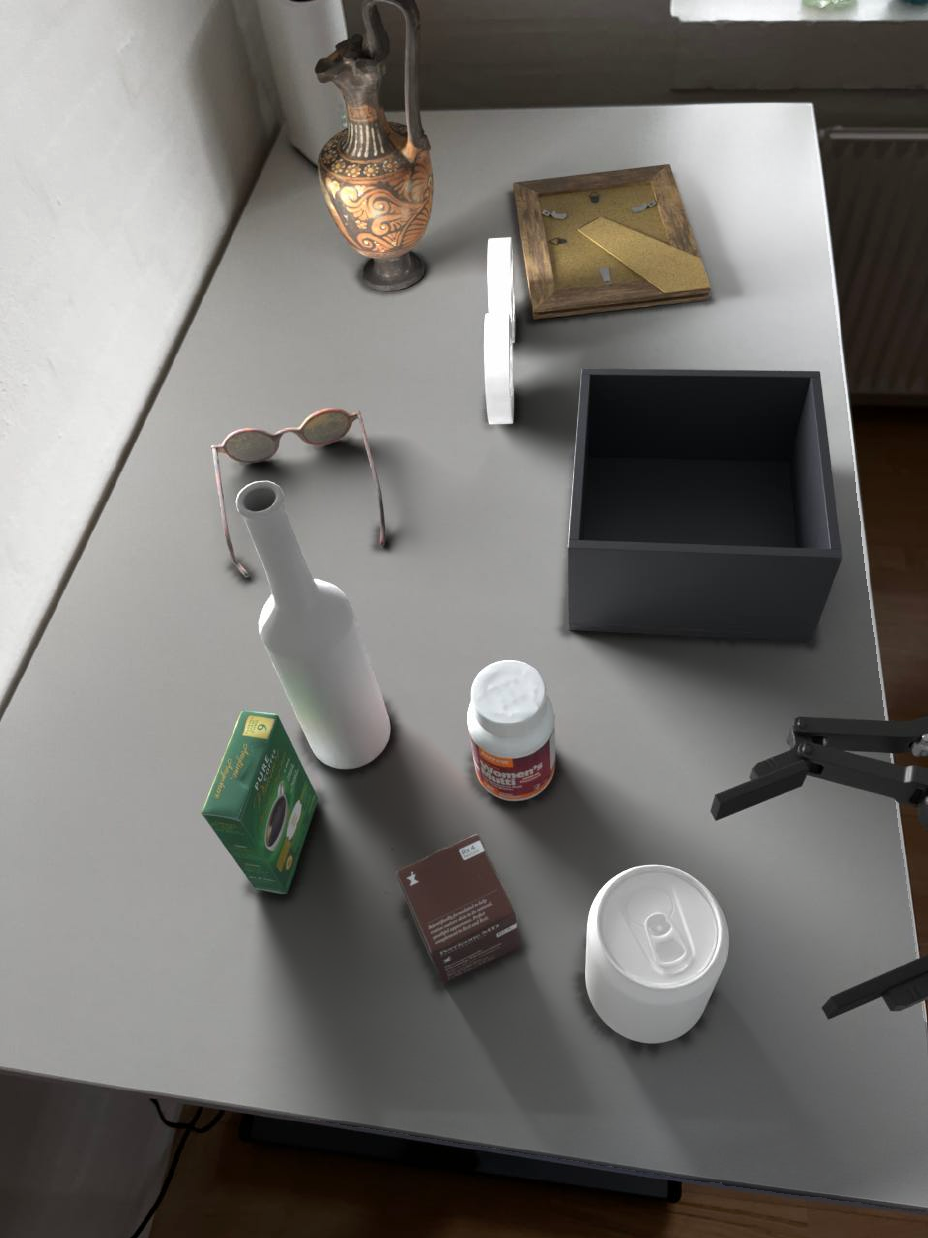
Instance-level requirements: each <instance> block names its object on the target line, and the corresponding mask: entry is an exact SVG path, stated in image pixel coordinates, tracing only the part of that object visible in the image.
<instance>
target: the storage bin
mask: <svg viewBox="0 0 928 1238" xmlns="http://www.w3.org/2000/svg"><path fill="white" fill-rule="evenodd" d="M821 376H822V375H821V371H820V370H764V369H763V370H761V369H760V370H759V369H757V370H756V369H755V370H754V369H752V370H751V369H676V368H675V369H674V368H673V369H669V368H667V369H666V368H664V369H663V368H590V367H589V368H588V367H587V368H586V367H585V368H581V369H580V381H579V384H580V385H579V394H578V395H579V396H578V407H577V408H578V411H577V422H576V433H575V434H576V435H575V447H574V462H573V474H572V484H571V485H572V486H571V501H570V511H569V512H570V513H569V525H568V538H567V539H568V540H567V630H569V631H586V632H606V633H623V634H625V633H626V634H627V633H628V634H630V633H631V634H644V635H645V634H647V635H667V636H670V635H671V636H686V637H688V636H689V637H708V638H727V639H729V638H730V639H747V640H748V639H750V640H769V641H770V640H771V641H788V642H789V641H790V642H791V641H792V642H810V643H811V642H813V640H814V637H815V634H816V632H817V629H818V626H819V624H820V621H821V618H822V615H823V613H824V610H825V608H826V605H827V602H828V600H829V597H830V594H831V591H832V588H833V585H834V583H835V580H836V577H837V575H838V572H839V569H840V566H841V564H842V561H843V558H844V557H843V550H842V540H841V533H840V525H839V515H838V509H837V501H836V500H837V499H836V491H835V483H834V476H833V475H834V474H833V466H832V458H831V450H830V442H829V441H830V440H829V434H828V427H827V426H828V425H827V418H826V409H825V400H824V392H823V386H822V385H823V384H822V377H821Z"/></svg>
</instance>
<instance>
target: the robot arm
mask: <svg viewBox="0 0 928 1238" xmlns="http://www.w3.org/2000/svg"><path fill="white" fill-rule="evenodd" d="M786 743H787V745H788V746H789V750H787V751H784V752H781V753H779V754H776V755H773V756H771V757H769V758H767V759H764V760H761V761H759V762H757V763H756V764H755V765H754V766H753V767H752V768H751V771H750V774H749V777H748V778H749V779H750V780H748V781H746V782H743V783H741V784H738V785H736V786H733V787H731V788H728V789H726V790H722V791H721V792H718V793H716V794H714V797H713V801H712V803H711V808H710V810H709V812H710V813H711V815H712V817H713V819H714V821H715V822H717V821H719V820H722V819H724V818H727V817H729V816H732V815H734V814H736V813H740V812H742V811H744V810H747V809H749V808H751V807H753V806H756V805H760V804H761V803H764V802H767V801H769V800H773V798H776V797H779V796H782V795H784V794H786V793H788V792H792V791H794V790H796V789H799V788H801V787H803V785H804V782H805V781H806V778H807V776H808V777H812V778H816V779H819V780H824V781H827V782H831V783H834V784H839V785H842V786H847V787H850V788H853V789H857V790H860V791H864V792H865V791H866V792H867V793H868V792H869V793H873V794H875V795H876V794H877V795H880V796H883V797H887V798H892V799H893V800H894V801H895V802H897V803H898V804H900V805H904V806H908V807H912V808H915V809H917V812H918V815H917V817H916V819H917V820H918V821H919V823H920V824H921V825H922V827H923V828H924V829H925V830H926V831H927V832H928V767H924V766H921V765H916V764H915V765H914V764H910V765H907V766H905V765H901V764H897V763H893V762H890V761H884V760H881V759H878V758H873V757H869V756H865V755H861V754H858V753H859V752H860V753H877V754H906V753H910V752H911V753H912V755H913V756H914V757H917V758H918V757H928V715H926V716H922V717H919V718H915V719H911V720H906V721H905V720H903V721H902V720H886V719H885V720H884V719H883V720H882V719H866V718H865V719H863V718H841V717H822V716H821V717H819V716H797V717H795V718H794V719H793V720H792V723H791V725H790V728H789V730H788V733H787V736H786ZM854 752H858V753H854ZM880 998H882V1000H883V1001H884V1003H885V1005H886V1006H887V1008H888V1010H889V1012H902V1011H904V1010H906V1009H908V1008H911V1007H913V1006H915V1005H918V1004H920V1003H922V1002H924V1001H926V1000H928V954H926V955H923V956H921V957H918V958H916V959H914V960H911V961H909V962H907V963H905V964H903V965H900V966H898V967H896V968H893V969H891V970H888V971H887V972H886V971H885V972H884V973H882V974H880V975H877V976H875V977H873V978H870V979H868V980H866V981H864V982H861V983H859V984H857V985H854V986H852V987H849V988H847V989H844V990H843V991H841V992H838V993H836V994H834V995H831V996H830V997H829V998H828V999H827V1001H826V1002H825V1003H824V1004H823V1005H822V1006H821V1010H822V1012H823V1014H824V1016H825V1017H826V1019H827V1020H828V1021H830V1020H832V1019H834V1018H836V1017H838V1016H841V1015H843V1014H845V1013H849V1012H850V1011H852V1010H854V1009H857V1008H860V1007H861V1006H863V1005H866V1004H869V1003H870V1002H873V1001H876V1000H877V999H880Z"/></svg>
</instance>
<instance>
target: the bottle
mask: <svg viewBox="0 0 928 1238" xmlns="http://www.w3.org/2000/svg"><path fill="white" fill-rule="evenodd" d="M284 501H285V495H284V491H283V489H282V488H281V486H280V485H278V484H277V483H276V482H272V481H269V480H259V481H254V482H252V483H249V484H247V485H245V487H243V488H241V490H240V491H239V492H238V493H237V496H236V499H235V509H236V510H237V512H238V513H239V514H240V515H241V516H242V518H243V521H244V523H245V525H246V528H247V530H248V532H249V536H250V537H251V540H252V543H253V545H254V549H255V550H256V552H257V555H258V557H259V560H260V562H261V565H262V567H263V570H264V573H265V577H266V580H267V582H268V583H267V584H268V586H269V589H270V592H271V594H270V596H269V598H268V599H267V601H266V602H265V604H264V605H263V608H262V610H261V613H260V617H259V620H258V631H259V632H258V633H259V638H260V639H261V642H262V643H263V646H264V648H265V650H266V653H267V654H268V657H269V659H270V661H271V663H272V666H273V668H274V670H275V673H276V675H277V677H278V679H279V681H280V683H281V686H282V688H283V691H284V692H285V695H286V697H287V699H288V702H289V704H290V705H291V708H292V710H293V713H294V714H295V716H296V719H297V721H298V723H299V726H300V728H301V730H302V732H303V734H304V736H305V739H306V741H307V742H308V744H309V746H310V748H311V750H312V753H313V755H314V756H315V758H317V759H318V760H319V761H320V762H321V763H323V764H324V765H326V766H327V767H328V766H329V767H330V768H333V769H334V768H335V769H338V770H352V769H353V770H354V769H357V768H361V767H363V766H366V765H368V764H370V763H371V762H372V761H374V760H375V759H376V758H378V756H380V755H381V753H382V752H383V751H384V750H385V748H386V747H387V744H388V742H389V740H390V736H391V731H392V729H391V728H392V727H391V721H390V716H389V714H388V711H387V708H386V704H385V701H384V697H383V694H382V692H381V689H380V686H379V682H378V680H377V677H376V673H375V671H374V667H373V665H372V661H371V658H370V655H369V652H368V650H367V649H368V648H367V646H366V644H365V641H364V638H363V635H362V632H361V628H360V626H359V622H358V620H357V617H356V614H355V611H354V608H353V605H352V603H351V601H350V600H349V598H348V595H346V593H345V592H344V591H343V590H341V589H340V588H339V587H337V586H336V585H335V584H332V583H331V582H327V581H324V580H322V579H318V578H314V577H313V574H312V572H311V570H310V568H309V566H308V563H307V562H306V560H305V557H304V555H303V553H302V551H301V547H300V545H299V542H298V540H297V537H296V535H295V532H294V529H293V526H292V524H291V521H290V518H289V516H288V513H287V511H286V508H285V506H284Z"/></svg>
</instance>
